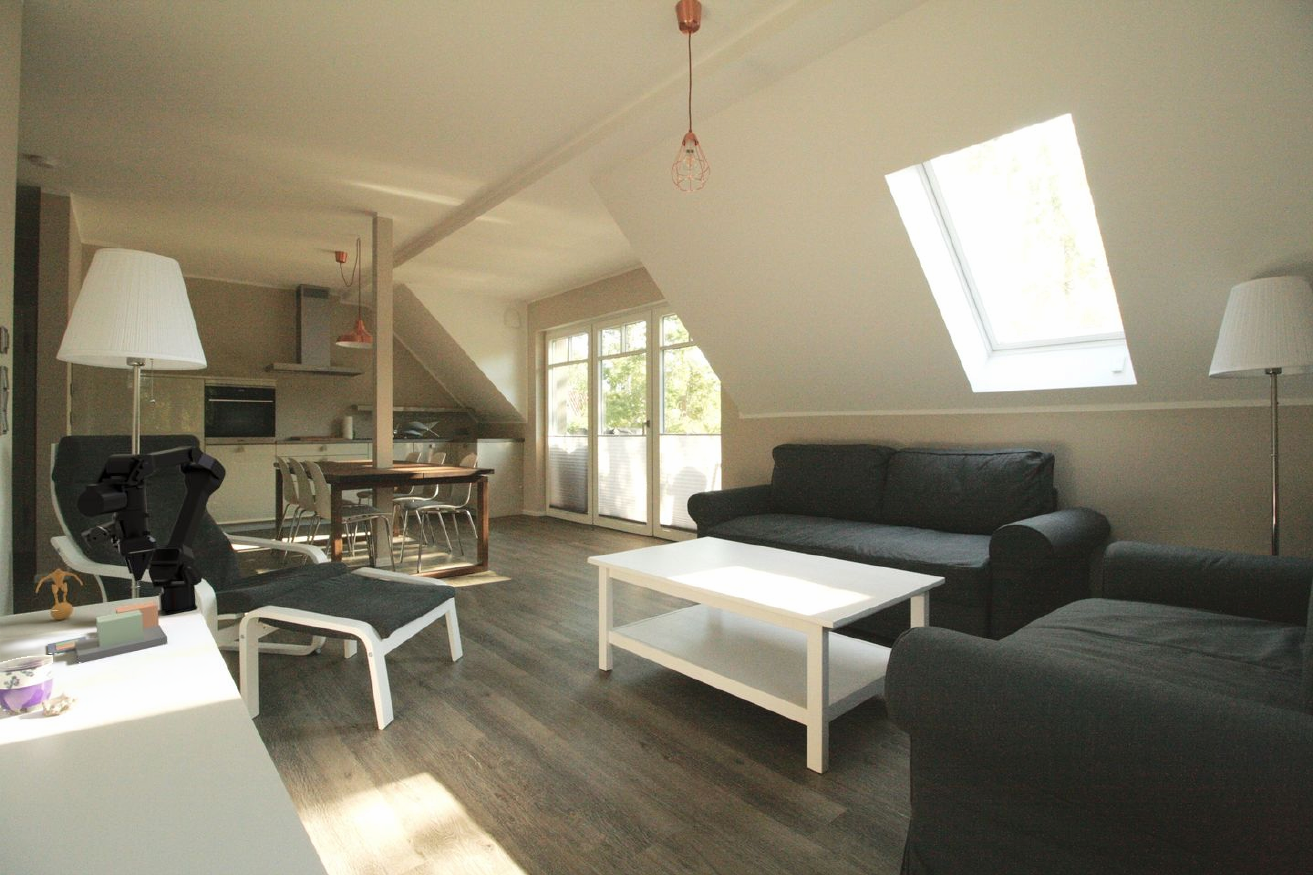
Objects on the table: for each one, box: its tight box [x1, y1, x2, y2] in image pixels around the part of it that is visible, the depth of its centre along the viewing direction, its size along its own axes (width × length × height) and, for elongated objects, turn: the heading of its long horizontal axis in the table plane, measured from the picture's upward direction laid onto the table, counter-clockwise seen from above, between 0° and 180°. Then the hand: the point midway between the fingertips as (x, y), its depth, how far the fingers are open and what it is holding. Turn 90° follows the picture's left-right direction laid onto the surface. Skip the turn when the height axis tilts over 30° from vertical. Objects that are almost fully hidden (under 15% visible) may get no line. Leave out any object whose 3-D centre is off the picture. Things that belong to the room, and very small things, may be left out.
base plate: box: [74, 624, 168, 664], centre depth 134 cm, size 14×11×2 cm
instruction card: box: [47, 636, 87, 654], centre depth 135 cm, size 6×8×1 cm
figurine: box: [35, 568, 84, 621], centre depth 154 cm, size 8×6×12 cm
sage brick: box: [95, 610, 144, 647], centre depth 134 cm, size 7×5×5 cm
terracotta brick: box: [115, 600, 160, 628], centre depth 146 cm, size 7×5×5 cm
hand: (135, 576), depth 145 cm, fingers open, 9 cm apart
